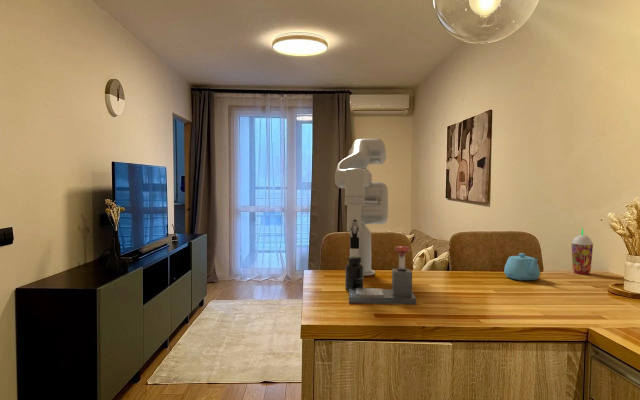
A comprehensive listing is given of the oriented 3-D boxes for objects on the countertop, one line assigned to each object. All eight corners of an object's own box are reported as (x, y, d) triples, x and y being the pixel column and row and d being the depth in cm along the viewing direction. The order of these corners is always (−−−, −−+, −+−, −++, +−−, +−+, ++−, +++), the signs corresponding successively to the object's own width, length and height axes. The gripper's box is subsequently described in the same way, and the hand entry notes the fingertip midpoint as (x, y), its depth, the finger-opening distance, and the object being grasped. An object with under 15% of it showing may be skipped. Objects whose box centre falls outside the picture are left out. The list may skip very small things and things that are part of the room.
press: (348, 294, 152) (349, 266, 152) (411, 295, 150) (411, 267, 150) (348, 303, 140) (348, 273, 140) (416, 304, 138) (416, 274, 138)
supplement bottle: (362, 291, 156) (362, 259, 155) (344, 290, 157) (344, 258, 157) (364, 287, 162) (364, 256, 162) (346, 286, 164) (346, 255, 163)
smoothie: (567, 271, 194) (568, 227, 194) (586, 271, 193) (587, 228, 193) (575, 275, 186) (576, 229, 186) (596, 275, 185) (597, 229, 184)
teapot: (524, 257, 167) (497, 251, 185) (524, 284, 168) (497, 275, 185) (552, 256, 170) (523, 250, 187) (552, 283, 170) (522, 274, 188)
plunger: (393, 278, 147) (393, 245, 147) (408, 279, 147) (408, 246, 146) (395, 282, 142) (395, 248, 142) (410, 282, 142) (410, 248, 141)
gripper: (344, 201, 168) (344, 244, 168) (344, 201, 150) (344, 249, 150) (364, 201, 167) (363, 244, 167) (365, 201, 150) (365, 250, 150)
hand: (354, 246), depth 159 cm, fingers open, 9 cm apart
